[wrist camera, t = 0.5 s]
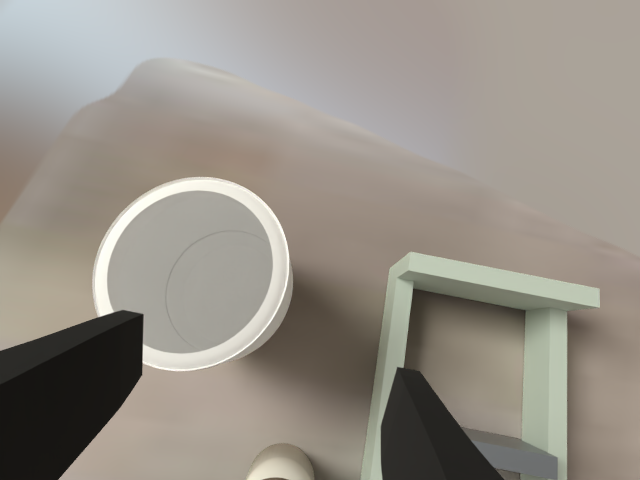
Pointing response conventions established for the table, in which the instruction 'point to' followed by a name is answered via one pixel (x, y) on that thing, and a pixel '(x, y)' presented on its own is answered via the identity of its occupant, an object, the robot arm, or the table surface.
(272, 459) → the spice jar
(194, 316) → the jar
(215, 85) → the table surface
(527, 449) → the plate
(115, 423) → the table surface
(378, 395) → the lane
